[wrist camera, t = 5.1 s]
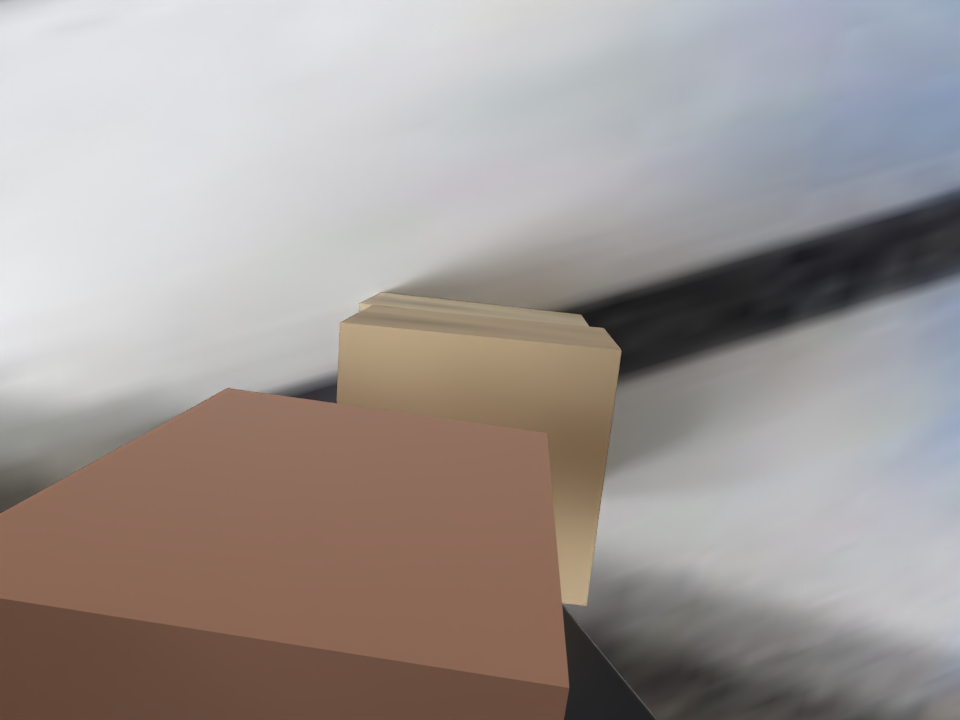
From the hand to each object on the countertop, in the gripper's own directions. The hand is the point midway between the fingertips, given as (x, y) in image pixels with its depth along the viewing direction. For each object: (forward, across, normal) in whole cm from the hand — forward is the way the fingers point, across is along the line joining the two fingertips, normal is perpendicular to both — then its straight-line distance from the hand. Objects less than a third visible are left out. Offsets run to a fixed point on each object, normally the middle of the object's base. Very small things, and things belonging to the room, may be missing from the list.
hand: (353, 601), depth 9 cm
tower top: (+9, -1, 0) cm, 9 cm away
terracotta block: (+1, 0, 0) cm, 1 cm away
